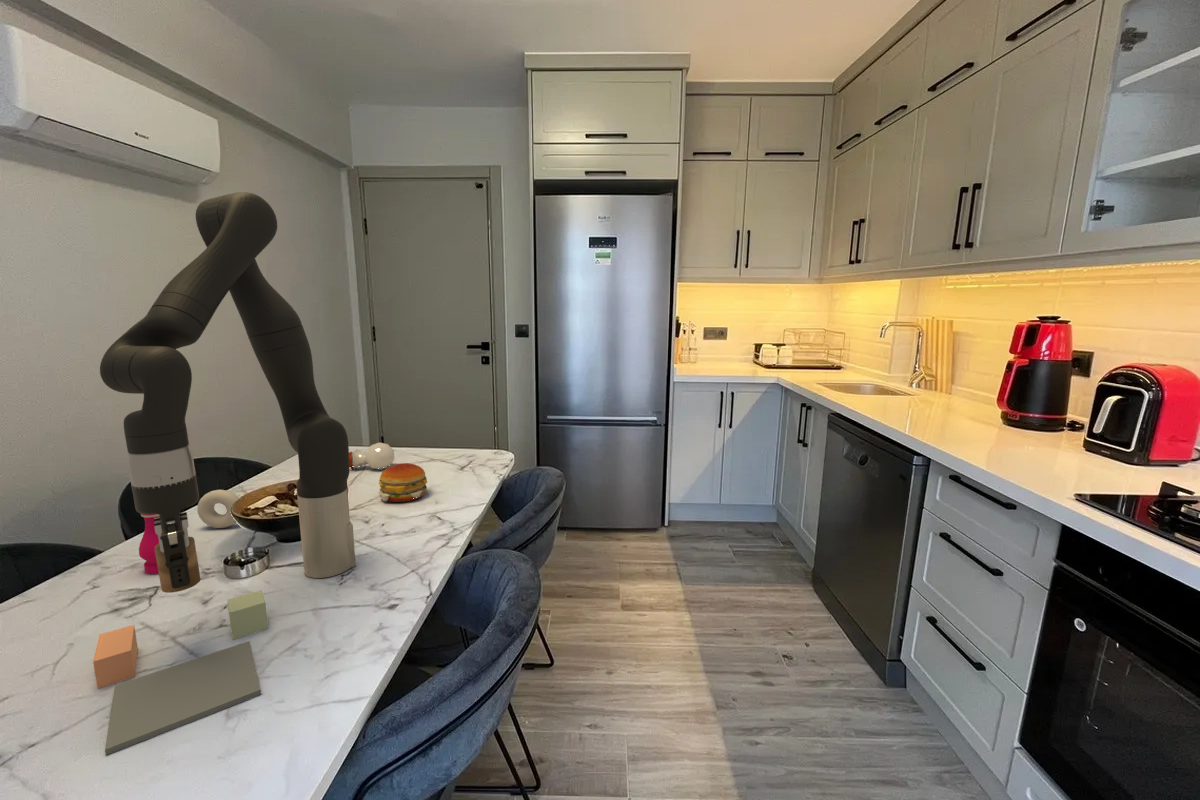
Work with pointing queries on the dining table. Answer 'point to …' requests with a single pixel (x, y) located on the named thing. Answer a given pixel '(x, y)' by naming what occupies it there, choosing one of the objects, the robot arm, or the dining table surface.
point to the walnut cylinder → (164, 571)
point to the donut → (208, 511)
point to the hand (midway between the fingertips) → (180, 578)
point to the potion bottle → (373, 457)
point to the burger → (402, 482)
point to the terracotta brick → (115, 656)
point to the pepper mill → (149, 544)
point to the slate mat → (180, 695)
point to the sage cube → (247, 614)
